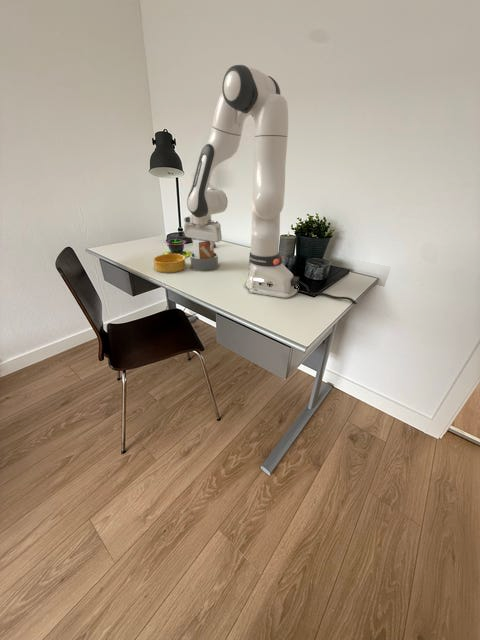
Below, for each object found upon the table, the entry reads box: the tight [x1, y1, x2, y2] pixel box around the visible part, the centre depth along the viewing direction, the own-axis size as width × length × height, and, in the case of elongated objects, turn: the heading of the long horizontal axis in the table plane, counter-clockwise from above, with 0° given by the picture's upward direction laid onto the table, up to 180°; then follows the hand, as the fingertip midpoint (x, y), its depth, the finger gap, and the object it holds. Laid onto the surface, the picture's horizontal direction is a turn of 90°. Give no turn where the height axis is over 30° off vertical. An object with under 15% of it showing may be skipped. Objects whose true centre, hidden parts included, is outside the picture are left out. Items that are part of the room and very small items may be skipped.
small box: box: [192, 239, 215, 259], centre depth 132 cm, size 8×6×13 cm
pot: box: [189, 251, 219, 272], centre depth 133 cm, size 14×14×6 cm
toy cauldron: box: [164, 234, 191, 258], centre depth 150 cm, size 15×15×11 cm
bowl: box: [152, 253, 187, 274], centre depth 131 cm, size 15×15×5 cm
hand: (203, 248), depth 130 cm, fingers closed on small box, 7 cm apart
